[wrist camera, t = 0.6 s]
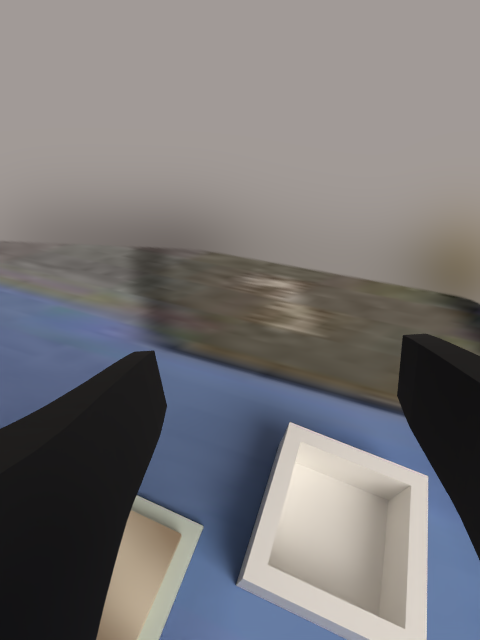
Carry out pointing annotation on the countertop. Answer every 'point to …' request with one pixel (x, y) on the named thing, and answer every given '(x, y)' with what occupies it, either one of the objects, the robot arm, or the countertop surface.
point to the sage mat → (177, 566)
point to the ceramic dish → (341, 540)
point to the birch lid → (136, 577)
